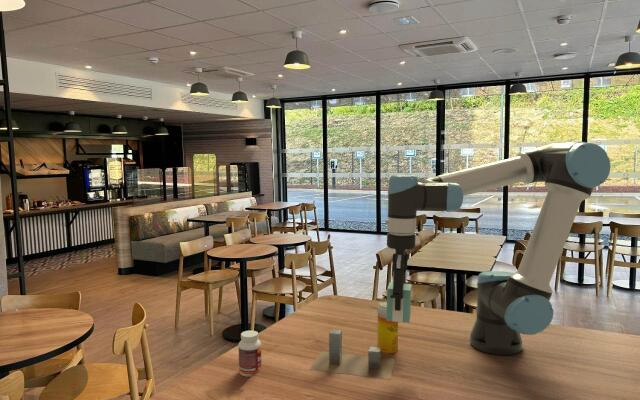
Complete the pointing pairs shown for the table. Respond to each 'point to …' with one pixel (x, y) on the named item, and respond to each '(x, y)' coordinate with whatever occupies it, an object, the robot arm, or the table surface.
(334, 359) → the tall post
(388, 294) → the mint green toy brick
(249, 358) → the pill bottle
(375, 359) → the short post
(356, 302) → the table surface
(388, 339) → the beer can
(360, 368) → the board
